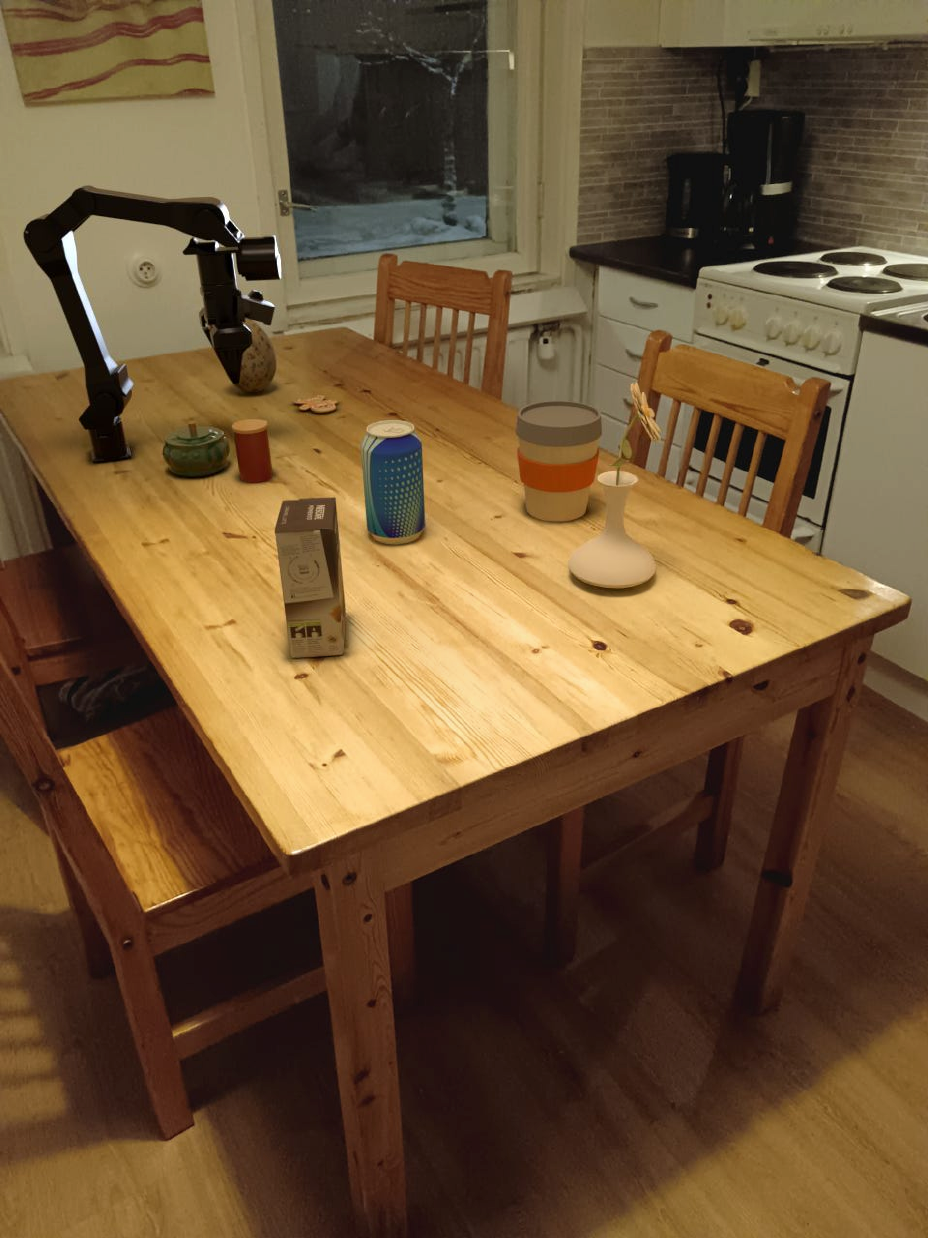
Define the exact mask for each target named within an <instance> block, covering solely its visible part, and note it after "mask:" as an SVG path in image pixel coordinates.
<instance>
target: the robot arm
mask: <svg viewBox="0 0 928 1238" xmlns="http://www.w3.org/2000/svg"><path fill="white" fill-rule="evenodd" d="M92 216H96V217H103V218H109V219H116V220H124V221H129V222H136V223H144V224H150V225H156V226H163V227H166V228H167V227H168V228H171V229H173V230H175V231H178V232H180V233H181V234H184V235H187V236H190V237H191V238H190V239H189V242H188V243H187V246H186V247H185V248H184V249H183V250H182V254H183V256H195V257H196V264H197V269H198V270H197V271H198V276H199V284H200V287H199V292H200V296H201V297H202V302H203V307H202V308H201V310H200V311H199V312H198V318H199V324H200V327H201V329H202V331H203V333H204V335H205V336H206V338H207V340H208V342H209V344H210V346H211V348H212V350H213V352H214V353H215V355H216V357H217V358H218V360H219V363H220V364H221V366H222V368H223V370H224V371H225V370H226V372H227V374H228V376H229V378H230V379H229V378H228V379H229V381H230V380H231V381H230V382H231V383H232V385H234V384H239V382H240V372H241V363H242V355H243V353H244V352H245V351H246V350H247V349H248V348H250V347H251V344H253V340H252V332H251V331H250V329H249V328H248V327H247V326H246V325H244V324H243V323H242V322H246V321H245V318H247V319H251V320H253V321H255V322H257V323H258V322H259V323H262V324H263V325H266V326H271V325H272V322H273V318H274V313H275V309H276V306H275V305H274V304H273V303H272V302H271V301H269V300H267V299H266V300H265V299H264V296H263V293H262V292H261V291H258V290H255V289H251V291H250V292H249V293H248V294H242V290H240V289H239V287H238V286H237V279H236V271H235V264H234V256H233V254H234V255H235V263H236V270H237V273H238V275H239V276H241V278H244V279H245V281H246V282H258V281H259V282H260V281H281V280H282V264H281V263H282V262H281V254H280V253H279V248H278V244H277V239H276V235H275V234H268V235H263V236H246V237H245V235H244V233H242V231H241V230H240V229H239V228H238V227H237V226H236V225H235V223H234V222H233V221H232V220H231V219H230V213H229V210H228V208H227V206H226V205H225V204H224V203H223V201H222V200H220V199H219V198H216V197H214V196H201V197H200V196H199V197H198V196H196V197H195V196H194V197H193V196H192V197H182V198H165V197H159V196H158V197H157V196H152V195H146V194H138V193H131V192H126V191H125V192H124V191H119V190H112V189H111V190H110V189H105V188H98V187H95V186H93V185H89V184H88V185H86V184H85V185H83V186H81V187H80V186H79V188H76V189H74V191H72V193H71V195H70V196H69V197H68V198H66V199H65V201H63V202H62V203H61V204H59V205H58V206H57V207H56V208H55V209H54V210H53V211H51V212H50V213H45V214H43V215H41V216H38V217H36V218H34V219H32V220H30V221H29V222H28V223H27V224H26V226H25V228H24V231H23V233H22V234H23V235H22V236H23V242H24V244H25V246H26V247H27V250H28V251H29V253H30V254H31V256H32V258H33V260H34V261H35V263H36V264H37V266H38V267H39V268H40V270H42V272H43V273H44V274H45V275H46V276H47V278H48V279H49V280H50V282H51V285H52V287H53V290H54V292H55V295H56V298H57V300H58V304H59V305H60V308H61V310H62V313H63V315H64V318H65V320H66V323H67V325H68V329H69V331H70V333H71V336H72V338H73V341H74V343H75V346H76V349H77V351H78V353H79V356H80V358H81V361H82V363H83V366H84V367H83V368H84V381H85V382H84V383H85V389H86V395H87V400H88V404H89V405H88V406H87V407H86V409H85V410H84V411H83V412H82V414H81V415H80V416H79V417H78V421H79V423H80V424H81V426H82V428H83V429H84V430H85V431H88V435H89V440H90V444H91V449H90V456H91V462H92V463H93V464H97V463H104V462H111V461H117V460H125V459H132V453H131V448H130V444H129V443H127V441H126V435H125V430H124V426H123V421H122V418H121V417H120V416H121V415H122V414H123V413H124V410H125V408H127V405H128V404H129V403H130V402H131V399H132V395H133V391H132V388H133V387H134V386H135V384H134V382H133V381H132V380H131V378H130V376H129V373H128V368H127V365H126V363H121V364H120V365H118V364H117V363H116V362H115V360H113V358H112V356H110V353H109V351H108V347H107V346H106V343H105V339H104V337H103V335H102V332H101V329H100V327H99V324H98V322H97V318H96V317H95V314H94V311H93V308H92V306H91V303H90V300H89V297H88V294H87V292H86V290H85V287H84V285H83V282H82V279H81V276H80V274H79V269H78V255H77V253H78V252H77V246H76V243H75V238H74V237H75V236H74V233H75V232H76V231H77V230H78V229H79V228H80V227H82V225H84V224H85V223H86V221H88V220H89V219H90V218H91V217H92ZM198 239H199V240H203V241H199V240H198ZM219 245H221V246H219ZM226 372H225V373H226ZM227 374H226V375H227ZM228 376H227V377H228Z"/></svg>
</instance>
